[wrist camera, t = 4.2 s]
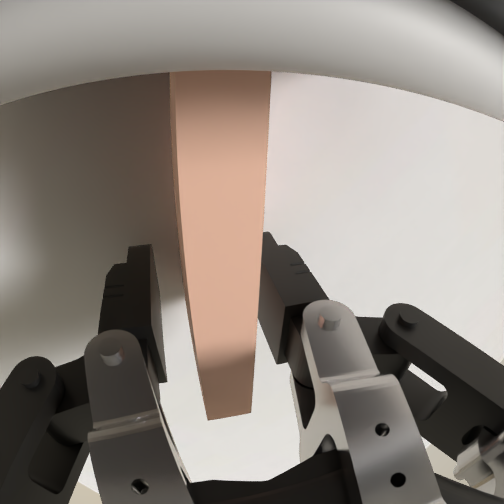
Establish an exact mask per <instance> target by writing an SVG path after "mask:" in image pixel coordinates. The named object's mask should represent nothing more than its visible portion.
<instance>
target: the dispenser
mask: <svg viewBox="0 0 504 504" xmlns="http://www.w3.org/2000/svg"><path fill="white" fill-rule="evenodd" d="M199 70H255V71H276V72H290V73H301V74H311V75H320V76H328V77H336V78H343V79H349V80H355V81H361V82H367V83H372V84H378V85H383V86H387V87H392V88H397V89H401V90H405V91H409V92H413V93H417V94H421V95H425V96H429V97H432V98H436V99H439V100H443V101H446V102H450V103H453V104H456V105H459V106H462V107H465V108H468V109H471V110H474V111H477V112H480V113H482V114H485V115H488V116H490V117H493V118H496V119H498V120H501V121H503V122H504V0H0V105H3V104H6V103H9V102H12V101H16V100H19V99H22V98H26V97H29V96H33V95H36V94H40V93H44V92H48V91H52V90H56V89H60V88H65V87H69V86H74V85H79V84H84V83H89V82H95V81H100V80H107V79H113V78H120V77H127V76H135V75H144V74H153V73H165V72H179V71H199Z"/></svg>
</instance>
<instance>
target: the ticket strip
mask: <svg viewBox="0 0 504 504" xmlns="http://www.w3.org/2000/svg"><path fill="white" fill-rule="evenodd" d="M270 90H271V71H255V70H199V71H179V72H170V120H171V145H172V164H173V180H174V194H175V207H176V219H177V230H178V240H179V250H180V259H181V268H182V277H183V285H184V293H185V301H186V308H187V314H188V320H189V326H190V332H191V338H192V344H193V349H194V355H195V360H196V366H197V371H198V376H199V381H200V386H201V391H202V396H203V401H204V405H205V410H206V415H207V419H208V420H214V419H220V418H226V417H231V416H237V415H242V414H247V413H251V406H252V392H253V378H254V363H255V349H256V334H257V319H258V303H259V287H260V271H261V255H262V238H263V221H264V204H265V186H266V168H267V149H268V130H269V110H270Z"/></svg>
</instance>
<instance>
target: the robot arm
mask: <svg viewBox="0 0 504 504" xmlns="http://www.w3.org/2000/svg"><path fill="white" fill-rule="evenodd" d="M258 320H259V322H260V325H261V327H262V330H263V332H264V335H265V337H266V340H267V342H268V345H269V347H270V350H271V352H272V354H273V357H274V359H275V362H276V364H282V363H286V362H288V364H289V366H290V368H291V373H290V385H291V391H292V396H293V401H294V406H295V412H296V417H297V422H298V428H299V434H300V443H299V456H300V464H298V465H296V466H295V467H293V468H291V469H289V470H287V471H286V472H284V473H282V474H280V475H278V476H276V477H274V478H273V479H270V480H267V481H223V480H209V481H202V482H194V483H192V482H191V480H190V477H189V475H188V473H187V471H186V469H185V466H184V464H183V462H182V460H181V457H180V455H179V452H178V450H177V447H176V444H175V442H174V439H173V437H172V434H171V431H170V428H169V426H168V423H167V420H166V417H165V414H164V412H163V409H162V406H161V403H160V391H159V383H165V382H167V374H166V365H165V354H164V344H163V332H162V318H161V303H160V293H159V286H158V280H157V274H156V268H155V262H154V256H153V250H152V245H151V244H149V245H140V246H132V247H129V248H128V256H127V263H122V264H114V266H113V267H112V268H111V270H110V271H109V272H108V274H107V275H106V281H105V289H104V293H103V299H102V306H101V313H100V320H99V328H98V335H96V336H95V337H94V338H93V339H92V340H91V341H90V342H89V343H88V345H87V346H86V349H85V352H84V356H82V357H81V358H79V359H77V360H74V361H72V362H69V363H66V364H63V365H60V366H57V367H54V365H53V364H52V363H51V362H50V361H49V360H48V359H46V358H44V357H39V356H34V357H29V358H27V359H24V360H23V361H21V362H20V363H18V364H17V365H16V366H15V368H14V369H13V370H12V372H11V373H10V375H9V376H8V378H7V379H6V381H5V383H4V384H3V386H2V387H1V389H0V504H68V503H69V500H70V498H71V496H72V493H73V491H74V488H75V486H76V483H77V481H78V478H79V476H80V474H81V471H82V469H83V466H84V464H85V462H86V459H87V457H88V455H89V452H90V456H91V461H92V465H93V470H94V474H95V478H96V482H97V486H98V490H99V493H100V497H101V500H102V504H504V366H503V365H502V364H500V363H499V362H497V361H496V360H494V359H493V358H492V357H490V356H489V355H487V354H486V353H484V352H483V351H481V350H480V349H478V348H477V347H476V346H474V345H473V344H471V343H470V342H468V341H467V340H465V339H464V338H462V337H461V336H459V335H458V334H456V333H455V332H453V331H452V330H450V329H449V328H447V327H446V326H444V325H443V324H441V323H440V322H438V321H437V320H435V319H434V318H432V317H430V316H429V315H427V314H426V313H424V312H423V311H421V310H420V309H418V308H416V307H414V306H412V305H409V304H404V303H397V304H393V305H391V306H389V307H388V308H387V309H386V311H385V313H384V316H383V318H376V317H357V316H355V315H354V313H353V312H352V311H351V310H350V309H349V308H348V307H347V306H345V305H344V304H342V303H339V302H337V301H333V300H329V298H328V297H327V295H326V294H325V292H324V291H323V289H322V288H321V286H320V285H319V283H318V282H317V280H316V279H315V277H314V276H313V274H312V273H311V272H310V270H309V269H308V267H307V266H306V264H304V261H303V260H302V258H301V257H300V255H299V254H298V252H296V251H295V250H293V249H292V248H290V247H289V246H287V245H279V246H278V245H277V243H276V241H275V240H274V238H273V237H272V235H271V233H270V232H263V238H262V255H261V271H260V287H259V303H258ZM411 363H413V364H414V365H415V366H417V367H418V368H420V369H421V370H422V371H424V372H425V373H427V374H428V375H429V376H431V377H432V378H434V379H435V380H436V381H438V382H439V383H441V384H442V385H443V386H444V387H445V388H446V390H447V391H443V392H441V391H437V390H436V389H434V388H433V387H431V386H430V385H429V384H427V383H426V382H424V381H423V380H422V379H420V378H419V377H418V376H416V375H415V374H413V373H412V372H411V371H409V370H408V368H409V366H410V365H411ZM420 435H421V436H422V437H423V438H425V439H426V440H427V441H429V442H430V443H431V444H433V445H434V446H436V447H437V448H438V449H440V450H441V451H442V452H444V453H445V454H447V455H448V456H449V457H450V458H452V459H453V460H455V461H456V462H457V465H456V466H455V468H454V471H453V473H454V476H455V477H456V479H458V480H463V479H465V480H466V481H467V482H468V483H469V485H470V487H469V486H466V485H464V484H461V483H459V482H456V481H453V480H451V479H448V478H446V477H443V476H441V475H439V474H436V473H434V472H433V469H432V466H431V463H430V460H429V457H428V455H427V452H426V449H425V446H424V444H423V441H422V438H421V436H420Z"/></svg>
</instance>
